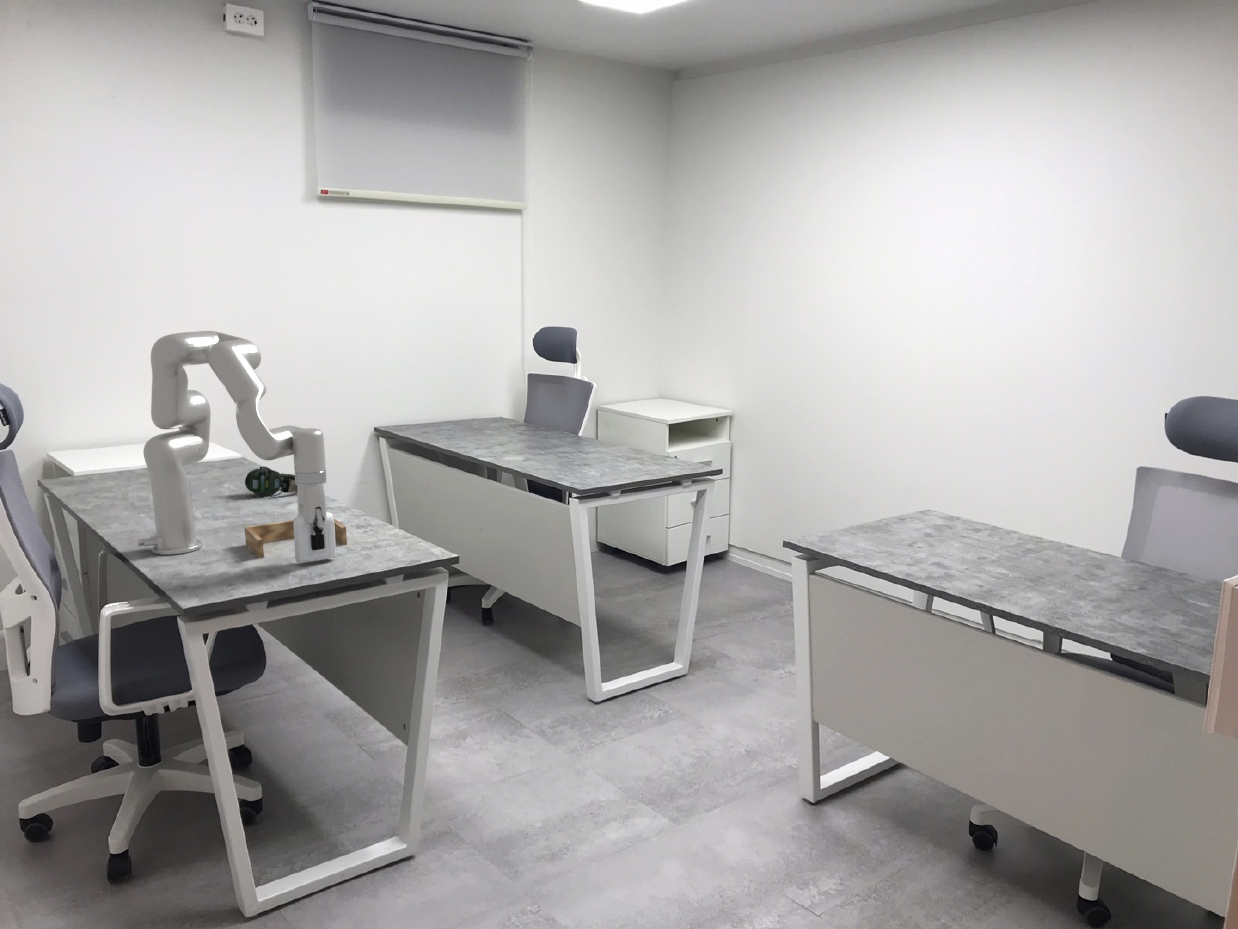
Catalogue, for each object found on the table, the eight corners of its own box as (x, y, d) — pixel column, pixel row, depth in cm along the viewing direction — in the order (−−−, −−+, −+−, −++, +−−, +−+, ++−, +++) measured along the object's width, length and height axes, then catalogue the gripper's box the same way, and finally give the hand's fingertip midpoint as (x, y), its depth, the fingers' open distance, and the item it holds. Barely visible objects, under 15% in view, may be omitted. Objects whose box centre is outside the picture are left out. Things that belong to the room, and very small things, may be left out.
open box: (259, 558, 251) (257, 540, 250) (246, 544, 264) (244, 527, 263) (347, 544, 263) (346, 526, 262) (330, 532, 276) (329, 515, 275)
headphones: (259, 486, 311) (318, 486, 324) (250, 453, 317) (308, 455, 330) (246, 509, 319) (304, 509, 332) (238, 477, 325) (295, 478, 338)
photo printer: (333, 553, 251) (330, 507, 249) (338, 557, 248) (335, 511, 245) (293, 560, 246) (290, 513, 243) (298, 564, 242) (294, 517, 240)
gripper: (286, 473, 248) (291, 541, 251) (304, 485, 234) (309, 557, 237) (316, 470, 252) (320, 537, 255) (335, 481, 238) (339, 552, 241)
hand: (315, 546), depth 246 cm, fingers closed on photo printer, 4 cm apart
